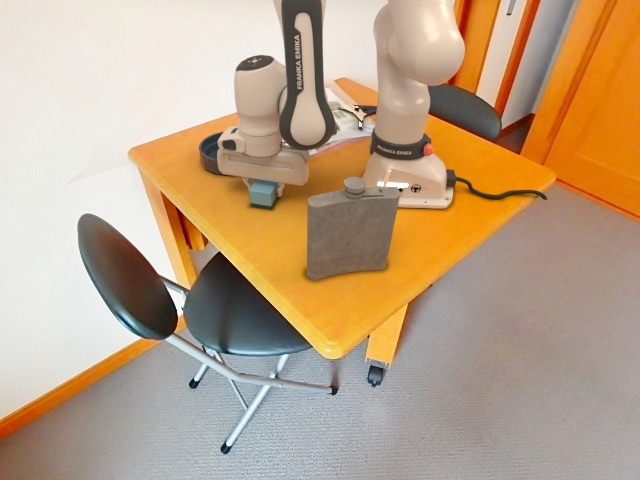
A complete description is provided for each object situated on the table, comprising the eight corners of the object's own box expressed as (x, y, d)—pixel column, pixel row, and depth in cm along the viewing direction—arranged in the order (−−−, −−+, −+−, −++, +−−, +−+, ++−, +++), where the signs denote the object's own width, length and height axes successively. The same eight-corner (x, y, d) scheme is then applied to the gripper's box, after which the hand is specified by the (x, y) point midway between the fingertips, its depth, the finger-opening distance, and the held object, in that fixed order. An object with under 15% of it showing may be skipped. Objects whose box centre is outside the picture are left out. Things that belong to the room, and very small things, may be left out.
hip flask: (308, 281, 75) (309, 195, 61) (304, 265, 78) (304, 180, 64) (388, 269, 78) (405, 184, 64) (381, 254, 81) (396, 171, 67)
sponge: (261, 188, 97) (259, 172, 94) (280, 191, 96) (280, 175, 93) (250, 206, 91) (248, 190, 88) (271, 209, 91) (270, 193, 88)
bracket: (336, 129, 120) (337, 120, 118) (339, 107, 131) (339, 99, 129) (384, 132, 120) (385, 123, 118) (382, 110, 131) (383, 102, 129)
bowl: (268, 149, 110) (267, 134, 107) (249, 180, 99) (248, 164, 96) (215, 142, 112) (213, 127, 109) (191, 171, 101) (188, 156, 98)
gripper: (312, 138, 84) (312, 191, 93) (221, 126, 87) (229, 179, 96) (305, 153, 79) (305, 207, 89) (209, 140, 82) (219, 194, 92)
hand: (265, 193), depth 92 cm, fingers closed on sponge, 5 cm apart
